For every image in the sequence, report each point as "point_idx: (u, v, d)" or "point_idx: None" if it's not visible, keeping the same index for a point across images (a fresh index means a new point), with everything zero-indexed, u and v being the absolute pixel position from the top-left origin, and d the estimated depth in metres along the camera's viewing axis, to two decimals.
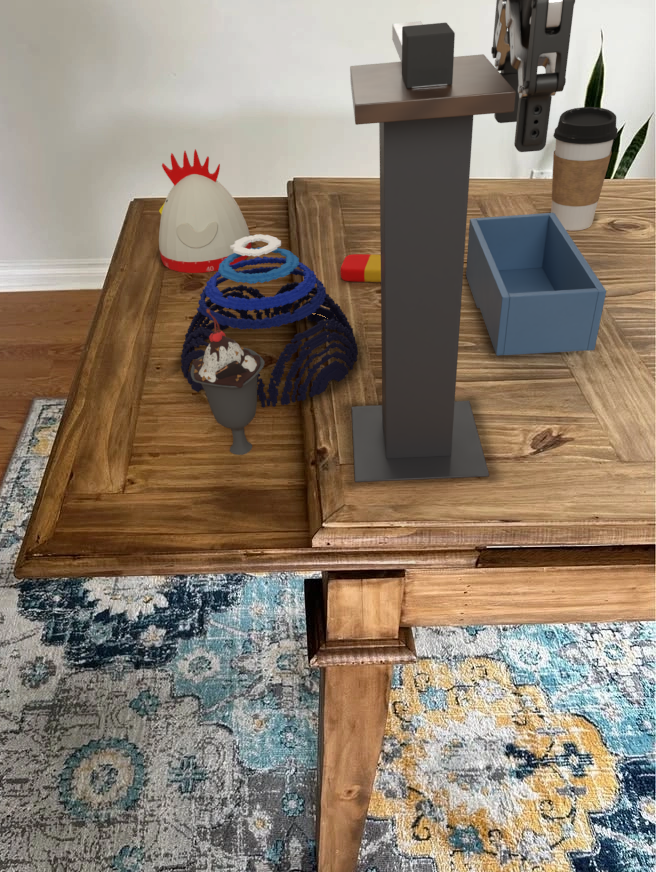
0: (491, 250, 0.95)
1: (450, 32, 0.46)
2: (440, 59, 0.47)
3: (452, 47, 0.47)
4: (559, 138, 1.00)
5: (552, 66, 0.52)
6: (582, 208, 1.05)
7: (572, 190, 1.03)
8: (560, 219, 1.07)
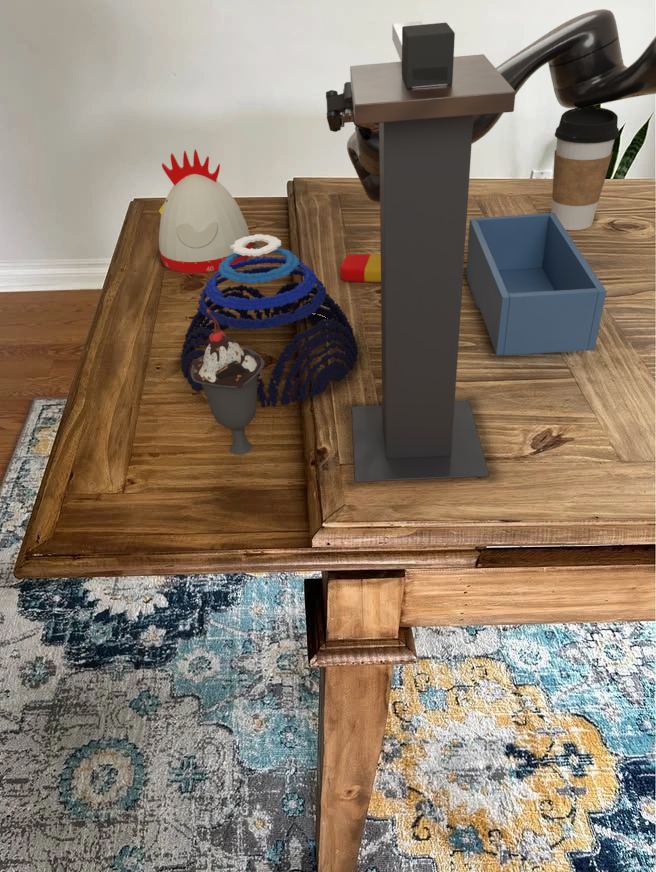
0: (491, 250, 0.95)
1: (450, 32, 0.46)
2: (440, 59, 0.47)
3: (452, 47, 0.47)
4: (560, 137, 1.00)
5: None
6: (582, 208, 1.05)
7: (573, 189, 1.03)
8: (560, 219, 1.07)
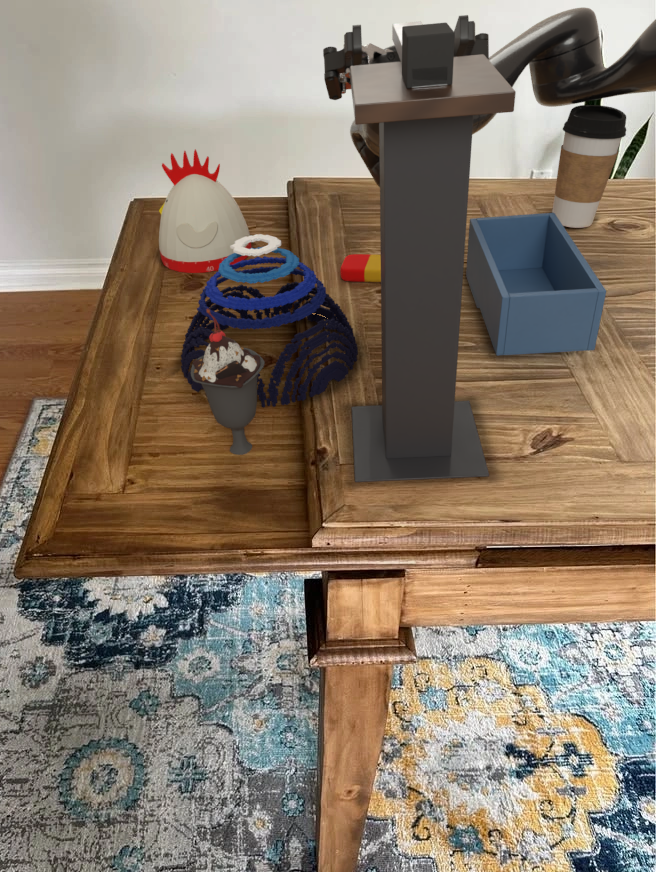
0: (491, 250, 0.95)
1: (450, 32, 0.46)
2: (440, 59, 0.47)
3: (452, 47, 0.47)
4: (570, 131, 1.00)
5: None
6: (586, 205, 1.04)
7: (578, 185, 1.03)
8: (563, 215, 1.06)
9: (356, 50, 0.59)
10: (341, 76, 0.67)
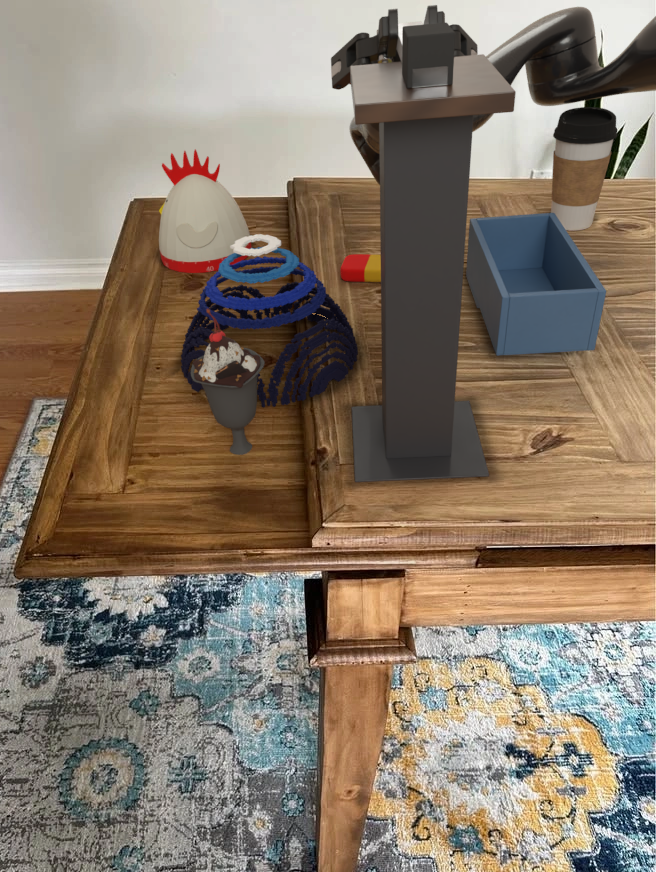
0: (491, 250, 0.95)
1: (450, 32, 0.46)
2: (440, 59, 0.47)
3: (452, 47, 0.47)
4: (560, 138, 1.00)
5: None
6: (583, 208, 1.05)
7: (573, 190, 1.03)
8: (561, 219, 1.07)
9: (392, 35, 0.57)
10: None
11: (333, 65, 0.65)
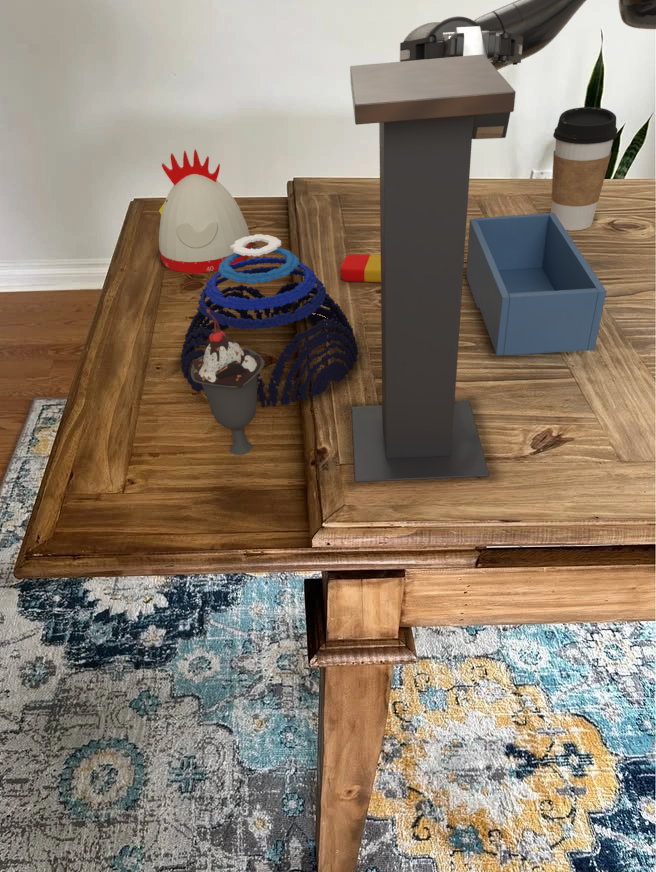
0: (491, 250, 0.95)
1: None
2: (499, 121, 0.64)
3: (508, 114, 0.63)
4: (560, 138, 1.00)
5: None
6: (583, 208, 1.05)
7: (573, 190, 1.03)
8: (561, 219, 1.07)
9: None
10: None
11: (401, 51, 0.78)
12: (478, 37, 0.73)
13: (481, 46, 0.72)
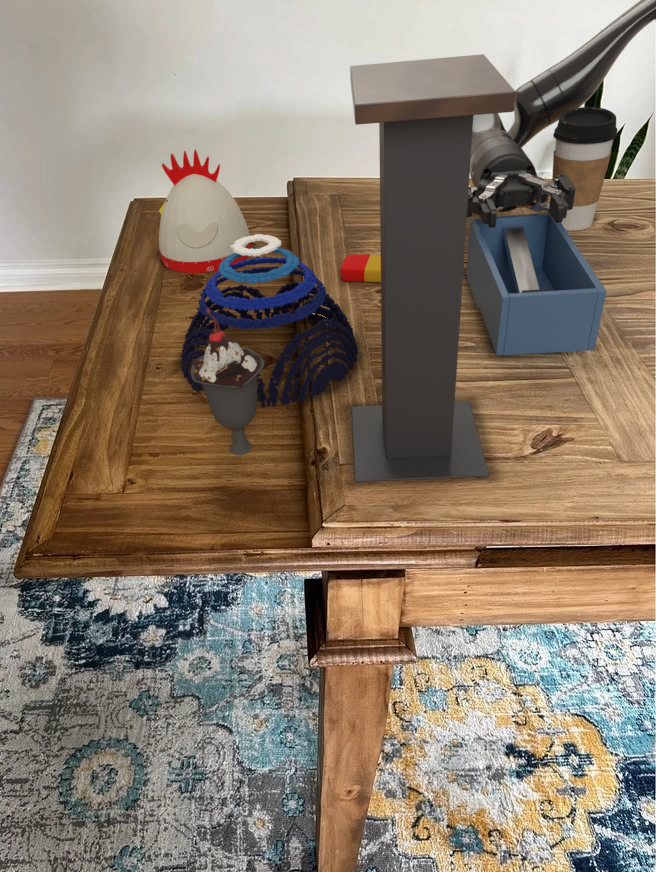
0: (491, 250, 0.95)
1: None
2: None
3: None
4: (560, 138, 1.00)
5: None
6: (583, 208, 1.05)
7: None
8: None
9: (491, 226, 0.87)
10: None
11: None
12: (522, 236, 0.91)
13: (525, 246, 0.90)
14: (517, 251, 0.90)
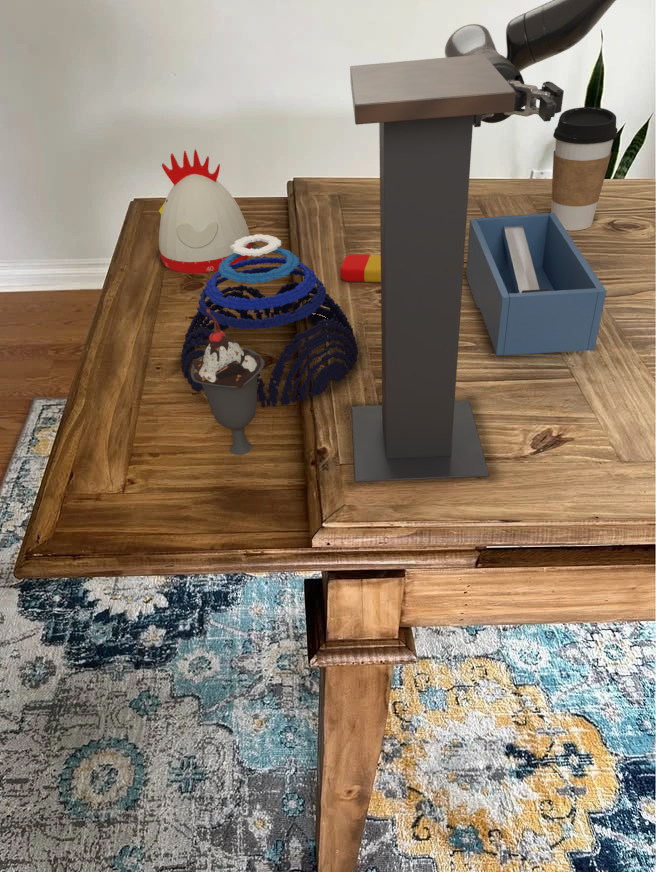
0: (491, 250, 0.95)
1: None
2: None
3: None
4: (560, 138, 1.00)
5: None
6: (583, 208, 1.05)
7: (573, 190, 1.03)
8: (561, 219, 1.07)
9: (476, 126, 0.91)
10: None
11: None
12: (522, 236, 0.91)
13: (525, 246, 0.90)
14: (517, 251, 0.90)
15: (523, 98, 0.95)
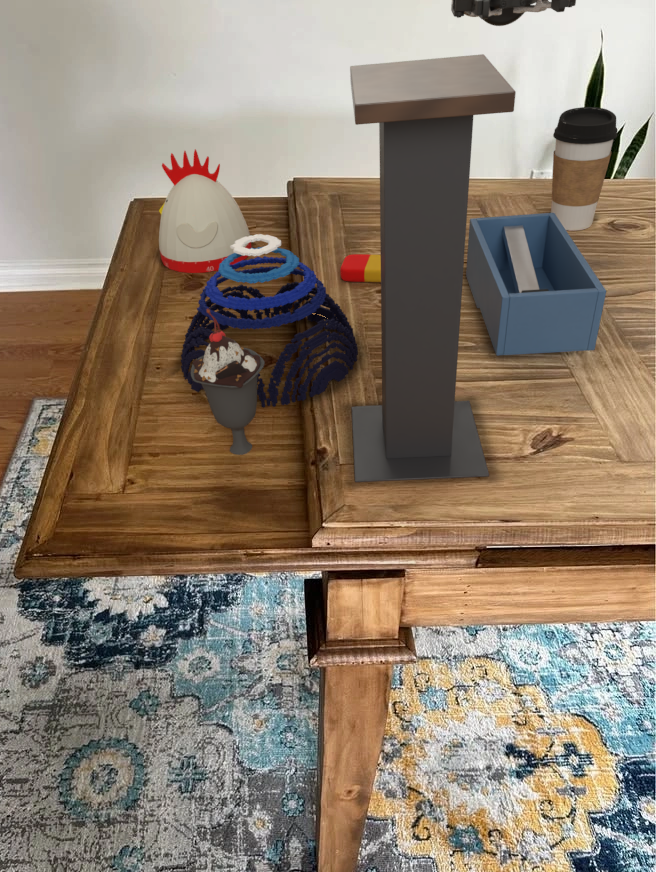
0: (491, 250, 0.95)
1: None
2: None
3: None
4: (560, 138, 1.00)
5: None
6: (583, 208, 1.05)
7: (573, 190, 1.03)
8: (561, 219, 1.07)
9: (484, 17, 0.84)
10: None
11: None
12: (522, 236, 0.91)
13: (525, 246, 0.90)
14: (517, 251, 0.90)
15: None
